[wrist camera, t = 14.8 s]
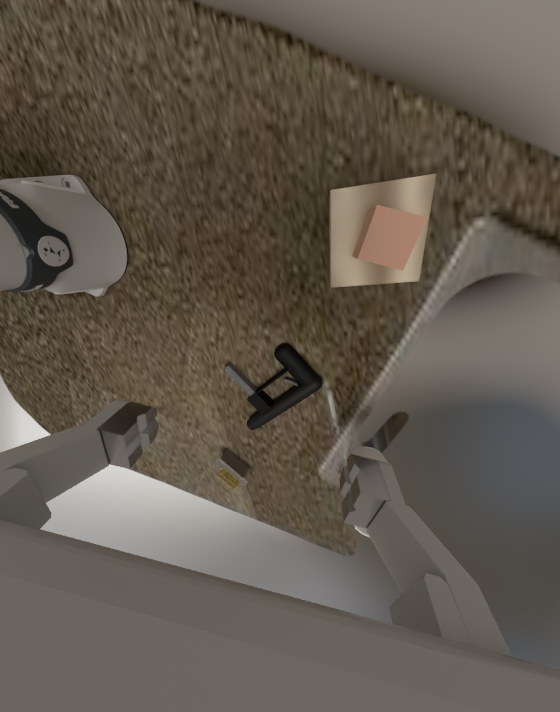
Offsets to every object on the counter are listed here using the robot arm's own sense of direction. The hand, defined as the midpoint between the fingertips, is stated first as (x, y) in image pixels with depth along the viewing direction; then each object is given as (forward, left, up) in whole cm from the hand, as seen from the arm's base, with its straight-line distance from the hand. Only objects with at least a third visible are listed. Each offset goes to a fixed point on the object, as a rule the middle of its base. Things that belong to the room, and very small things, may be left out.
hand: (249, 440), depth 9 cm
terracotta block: (+8, +9, -26) cm, 29 cm away
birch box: (+7, +9, -32) cm, 34 cm away
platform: (-8, -46, -32) cm, 57 cm away
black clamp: (-3, -20, -33) cm, 38 cm away
